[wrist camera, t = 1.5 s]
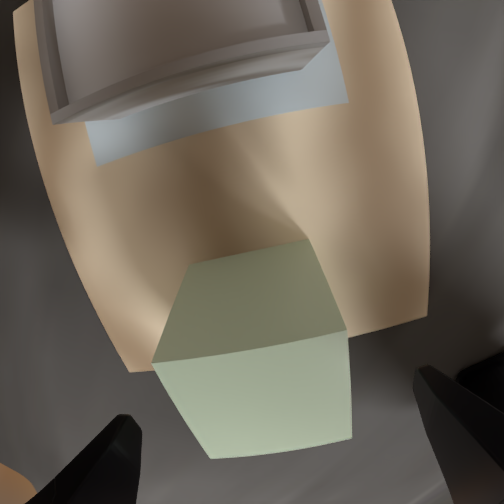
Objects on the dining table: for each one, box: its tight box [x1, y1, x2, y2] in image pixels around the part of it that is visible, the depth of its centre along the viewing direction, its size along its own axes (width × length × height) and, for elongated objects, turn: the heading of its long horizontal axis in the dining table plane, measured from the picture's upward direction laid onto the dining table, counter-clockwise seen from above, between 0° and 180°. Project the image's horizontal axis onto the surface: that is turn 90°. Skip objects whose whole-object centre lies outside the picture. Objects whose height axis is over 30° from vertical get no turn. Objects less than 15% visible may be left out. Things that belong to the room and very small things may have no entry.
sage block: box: [151, 239, 352, 459], centre depth 11 cm, size 5×5×6 cm
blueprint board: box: [13, 0, 430, 372], centre depth 9 cm, size 16×20×6 cm
